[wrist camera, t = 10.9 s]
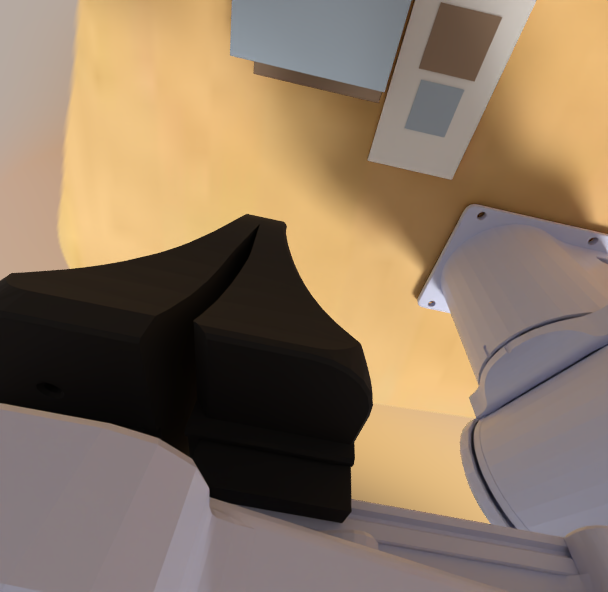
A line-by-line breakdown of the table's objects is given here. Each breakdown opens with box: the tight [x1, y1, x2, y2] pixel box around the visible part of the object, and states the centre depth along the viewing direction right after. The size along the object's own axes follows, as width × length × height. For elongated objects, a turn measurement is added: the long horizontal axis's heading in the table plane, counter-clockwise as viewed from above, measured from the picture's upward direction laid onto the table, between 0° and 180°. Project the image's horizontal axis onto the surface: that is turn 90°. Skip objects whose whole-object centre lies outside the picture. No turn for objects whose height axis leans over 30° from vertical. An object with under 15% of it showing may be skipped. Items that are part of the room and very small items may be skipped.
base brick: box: [254, 61, 382, 103], centre depth 14 cm, size 6×6×2 cm
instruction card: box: [368, 0, 536, 180], centre depth 16 cm, size 5×8×1 cm, turn 169°
